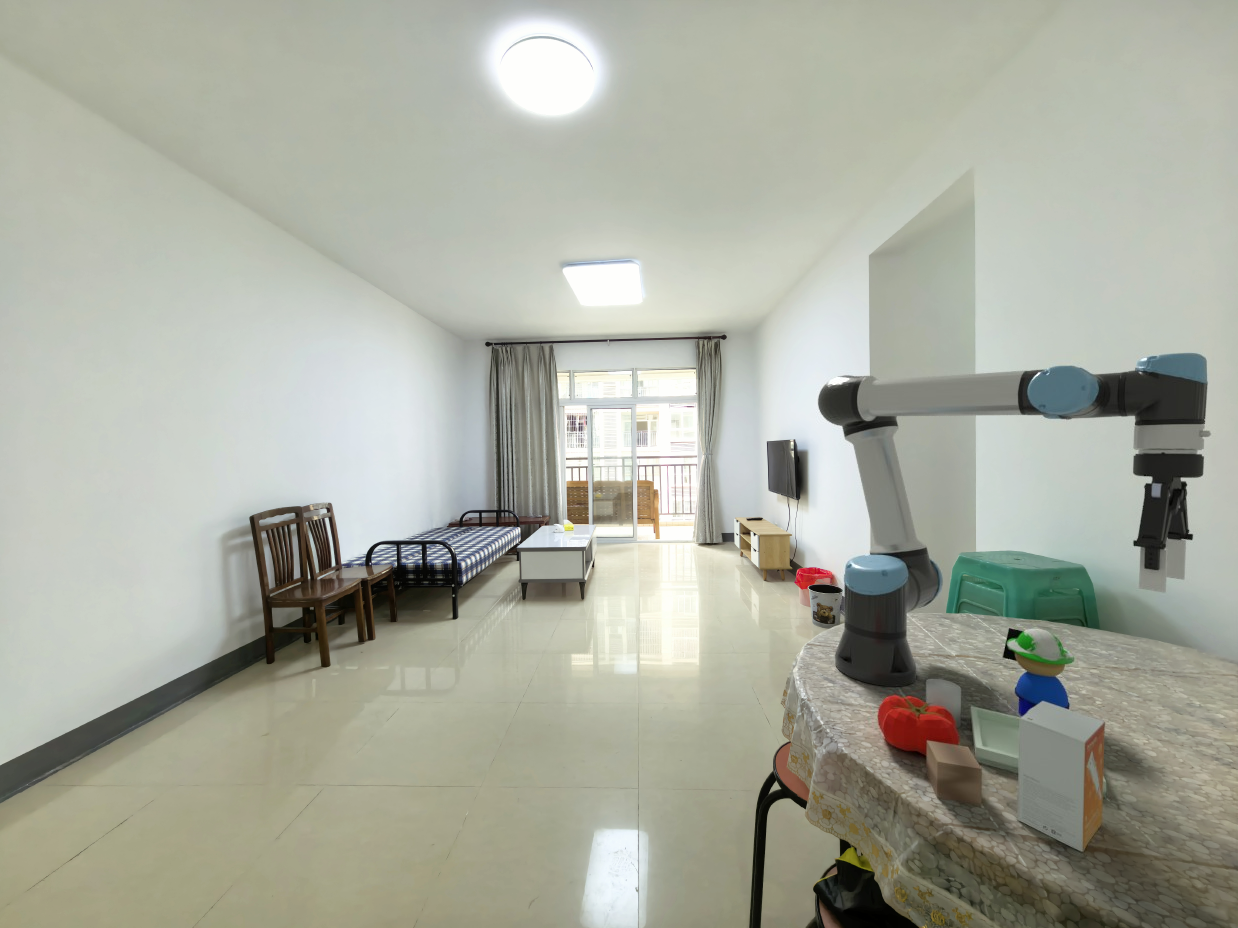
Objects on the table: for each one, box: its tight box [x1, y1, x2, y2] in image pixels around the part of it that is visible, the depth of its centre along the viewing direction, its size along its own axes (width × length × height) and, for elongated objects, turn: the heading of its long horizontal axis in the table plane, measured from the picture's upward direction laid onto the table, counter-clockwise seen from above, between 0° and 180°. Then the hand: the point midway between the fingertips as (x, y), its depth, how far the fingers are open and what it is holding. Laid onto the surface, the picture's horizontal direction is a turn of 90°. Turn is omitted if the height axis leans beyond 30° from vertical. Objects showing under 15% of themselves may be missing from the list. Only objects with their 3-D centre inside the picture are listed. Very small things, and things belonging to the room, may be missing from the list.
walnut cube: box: [925, 740, 983, 807], centre depth 67 cm, size 5×5×5 cm
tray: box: [970, 705, 1107, 799], centre depth 75 cm, size 14×14×2 cm
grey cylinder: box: [925, 678, 962, 729], centre depth 84 cm, size 5×5×6 cm
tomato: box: [877, 694, 960, 757], centre depth 76 cm, size 10×11×6 cm
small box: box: [1016, 701, 1106, 853], centre depth 60 cm, size 8×6×13 cm
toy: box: [1002, 627, 1075, 717], centre depth 85 cm, size 9×9×15 cm
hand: (1162, 583), depth 79 cm, fingers open, 13 cm apart
